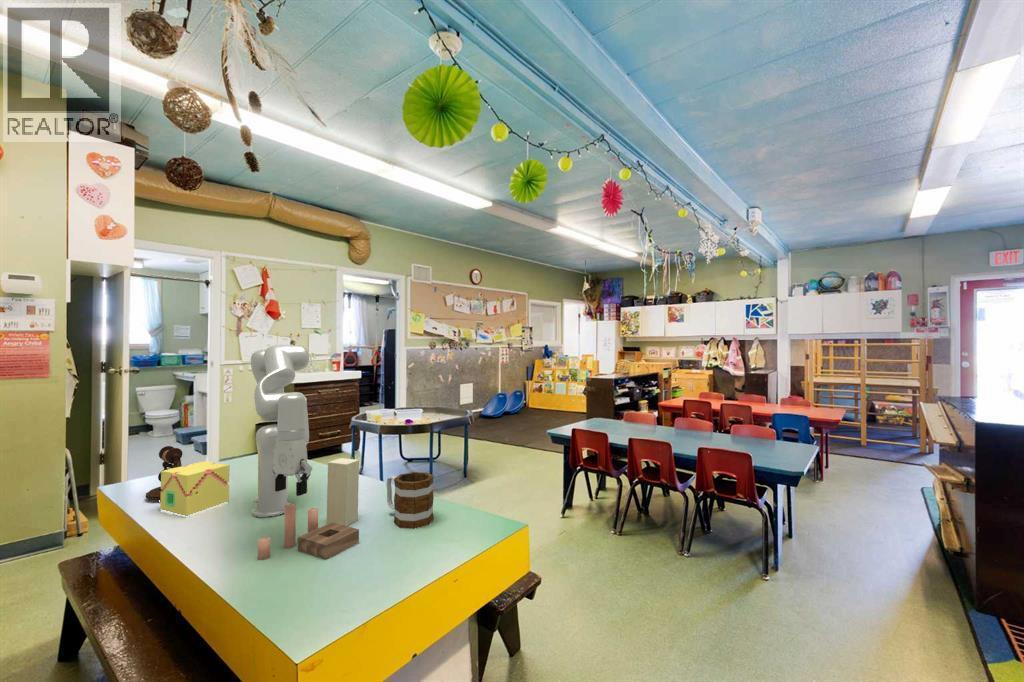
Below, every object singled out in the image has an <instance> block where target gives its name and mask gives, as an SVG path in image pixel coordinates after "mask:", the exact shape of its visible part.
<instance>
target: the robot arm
mask: <svg viewBox="0 0 1024 682" xmlns="http://www.w3.org/2000/svg"><path fill="white" fill-rule="evenodd" d="M309 362H310V355H309V351H308V349H307V348H306V347H305V346H304V345H301V344H275V345H271V346H268V347H267V348H266V349H260V350H256V351H254V352H253V353H252V354H251V356H250V368H251V372H252V375H253V377H254V380H255V382H256V386H255V389H254V394H253V395H254V396H253V399H254V406H255V411H256V414H257V415H258V416H259V417H260V419H261V421H263V422H267V423H268V422H269V423H271V422H272V423H273V422H277V424H268V425H264V426H261V427H260V428H259V429H257V431H256V433H255V444H256V445H255V446H256V450H257V498H255V499H254V500H253V503H254V504H256V507H255V508H253V510H251V512H252V516H253V515H254V517H256V516H257V518H270V517H269V516H272V517H276V516H275V515H277V516H280V514H281V515H284V514H285V506H286V505H288V504H291V503H290V502H288V483H289V482H288V481H289V480H288V479H289V478H288V477H289V476H290V477H292V476H293V477H294V476H295V478H296V483H295V484H296V485H295V487H296V488H295V495H296V497H300V496H303V495H306V494H307V493H308V481H309V477H310V476H311V473H312V470H313V466H311V465H310V464H309V463H308V451H307V450H308V448H307V445H308V444H309V440H310V430H309V429H310V427H309V426H310V425H309V415H308V414H309V413H308V401H307V397H306V396H305V395H304V394H303V393H302V392H298V391H297V392H296V391H295V392H285V387H287V386H288V385H290V384H291V383H292V382H293V381H294V380H295V378H296V372H299V371H301V370H304V369H305V368H307V367H308V365H309ZM283 513H284V514H283Z"/></svg>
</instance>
